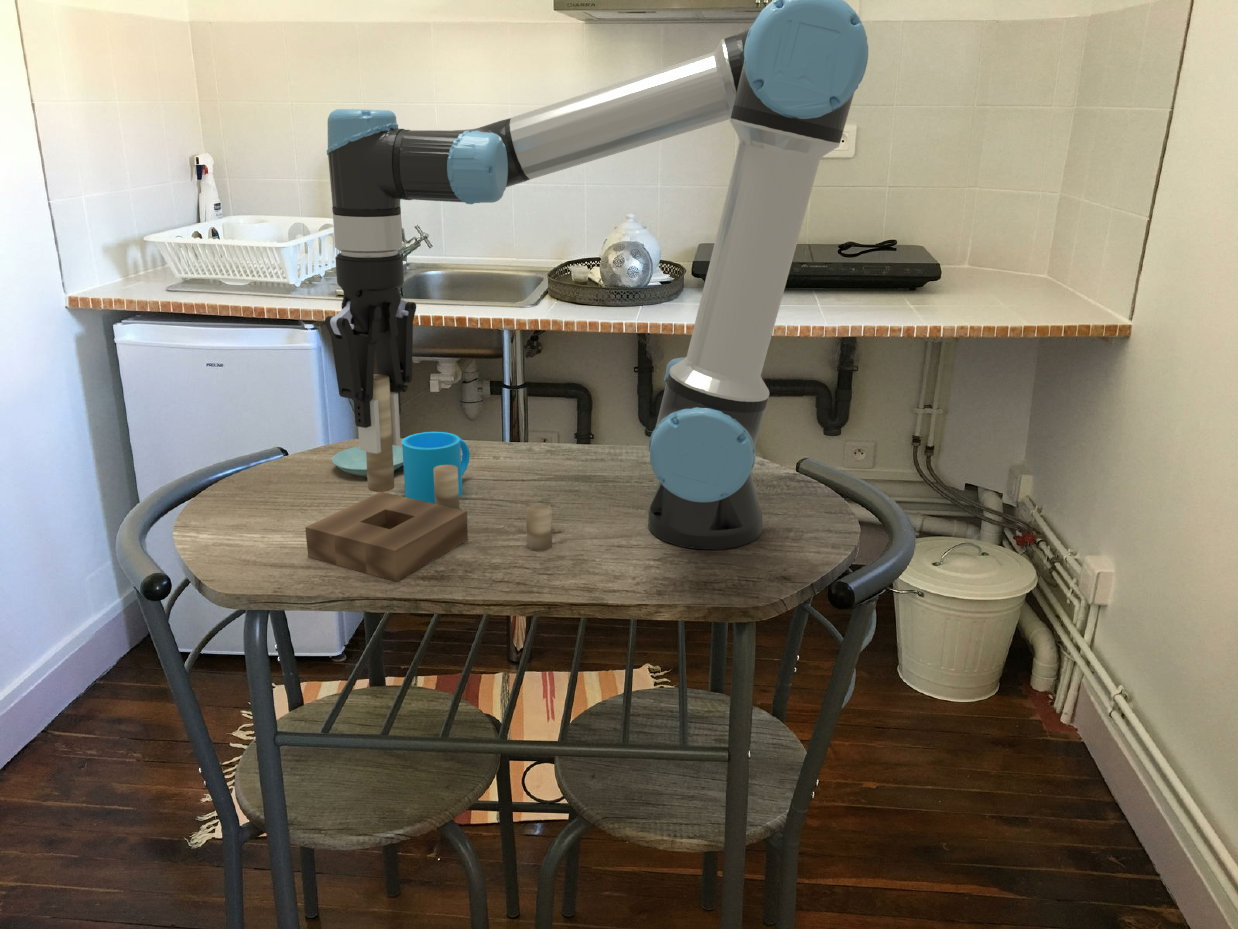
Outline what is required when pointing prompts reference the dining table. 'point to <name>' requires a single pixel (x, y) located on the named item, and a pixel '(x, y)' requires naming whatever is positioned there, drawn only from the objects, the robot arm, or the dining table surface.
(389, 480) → the dowel long
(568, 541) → the dining table surface
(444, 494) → the dowel mid
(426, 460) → the mug
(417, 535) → the collar block
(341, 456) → the saucer
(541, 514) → the dowel short
